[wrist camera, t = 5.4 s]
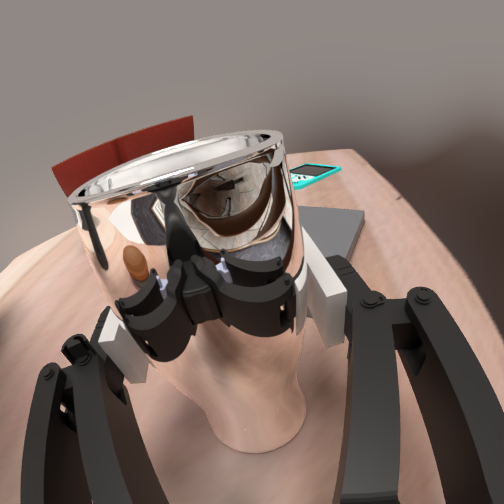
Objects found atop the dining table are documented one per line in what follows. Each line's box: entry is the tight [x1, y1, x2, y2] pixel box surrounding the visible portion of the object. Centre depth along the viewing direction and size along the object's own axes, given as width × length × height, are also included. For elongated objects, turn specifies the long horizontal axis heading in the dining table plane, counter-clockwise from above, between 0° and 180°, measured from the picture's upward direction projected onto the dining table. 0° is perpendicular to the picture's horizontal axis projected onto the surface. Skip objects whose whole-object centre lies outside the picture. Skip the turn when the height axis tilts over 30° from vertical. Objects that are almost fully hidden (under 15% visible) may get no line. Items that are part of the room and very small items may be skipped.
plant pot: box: [52, 115, 194, 198], centre depth 42 cm, size 19×19×17 cm
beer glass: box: [68, 130, 308, 453], centre depth 11 cm, size 7×7×15 cm
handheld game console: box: [290, 163, 341, 190], centre depth 55 cm, size 10×16×1 cm, turn 131°
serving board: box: [298, 206, 364, 317], centre depth 32 cm, size 22×18×2 cm
